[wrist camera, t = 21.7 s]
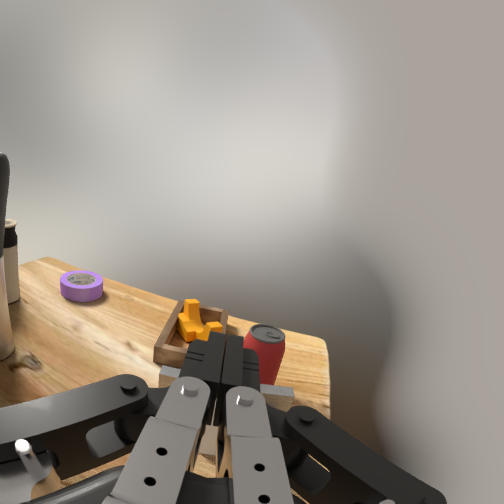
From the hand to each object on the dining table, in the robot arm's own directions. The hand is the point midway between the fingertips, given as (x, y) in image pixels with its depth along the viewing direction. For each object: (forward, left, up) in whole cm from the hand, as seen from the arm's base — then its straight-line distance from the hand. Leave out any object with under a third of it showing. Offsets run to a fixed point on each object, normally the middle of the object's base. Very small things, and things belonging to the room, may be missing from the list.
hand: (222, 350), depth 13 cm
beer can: (+7, +29, -26) cm, 40 cm away
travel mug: (-52, +36, -26) cm, 68 cm away
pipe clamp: (-5, +42, -26) cm, 50 cm away
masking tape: (-37, +51, -26) cm, 68 cm away
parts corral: (-5, +42, -26) cm, 50 cm away
